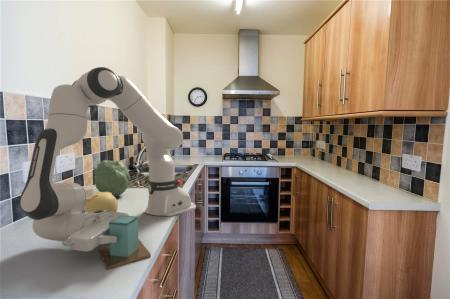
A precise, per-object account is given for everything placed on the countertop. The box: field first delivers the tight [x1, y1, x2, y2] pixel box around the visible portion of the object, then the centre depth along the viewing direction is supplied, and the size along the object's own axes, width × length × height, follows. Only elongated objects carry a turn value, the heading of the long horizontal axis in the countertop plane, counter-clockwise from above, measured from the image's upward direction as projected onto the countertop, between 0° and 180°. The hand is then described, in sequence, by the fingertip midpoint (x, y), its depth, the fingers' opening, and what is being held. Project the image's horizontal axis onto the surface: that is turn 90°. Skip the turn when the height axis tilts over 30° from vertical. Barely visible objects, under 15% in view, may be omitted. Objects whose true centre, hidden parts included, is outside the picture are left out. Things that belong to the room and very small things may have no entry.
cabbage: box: [92, 159, 131, 198], centre depth 136 cm, size 16×19×20 cm
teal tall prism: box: [109, 215, 139, 257], centre depth 76 cm, size 6×6×10 cm
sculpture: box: [85, 191, 119, 213], centre depth 106 cm, size 11×12×11 cm
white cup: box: [81, 185, 97, 212], centre depth 116 cm, size 8×8×10 cm
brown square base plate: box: [99, 238, 152, 270], centre depth 76 cm, size 17×17×8 cm
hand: (126, 231), depth 76 cm, fingers open, 8 cm apart
